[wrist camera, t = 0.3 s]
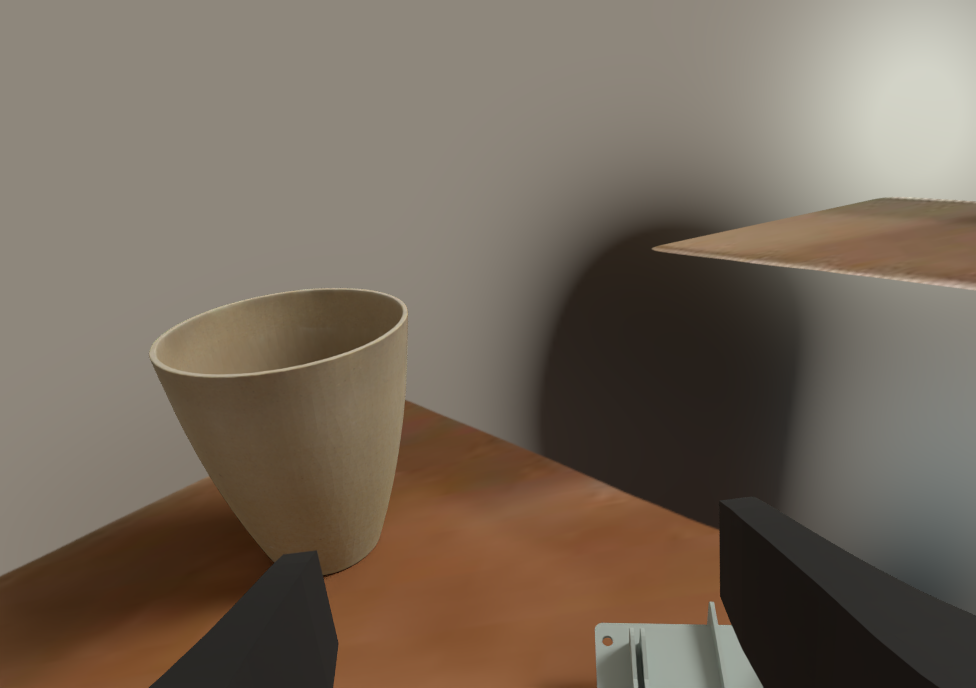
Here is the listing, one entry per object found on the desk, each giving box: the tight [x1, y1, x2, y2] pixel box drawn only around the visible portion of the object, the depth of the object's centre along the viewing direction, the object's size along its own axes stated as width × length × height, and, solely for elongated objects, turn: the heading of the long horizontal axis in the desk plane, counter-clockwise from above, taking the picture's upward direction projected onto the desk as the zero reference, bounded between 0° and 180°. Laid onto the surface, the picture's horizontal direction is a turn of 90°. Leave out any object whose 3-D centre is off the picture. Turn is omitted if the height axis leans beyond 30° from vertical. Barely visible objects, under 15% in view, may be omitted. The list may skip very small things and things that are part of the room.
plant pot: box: [149, 288, 408, 575], centre depth 44 cm, size 15×15×16 cm
